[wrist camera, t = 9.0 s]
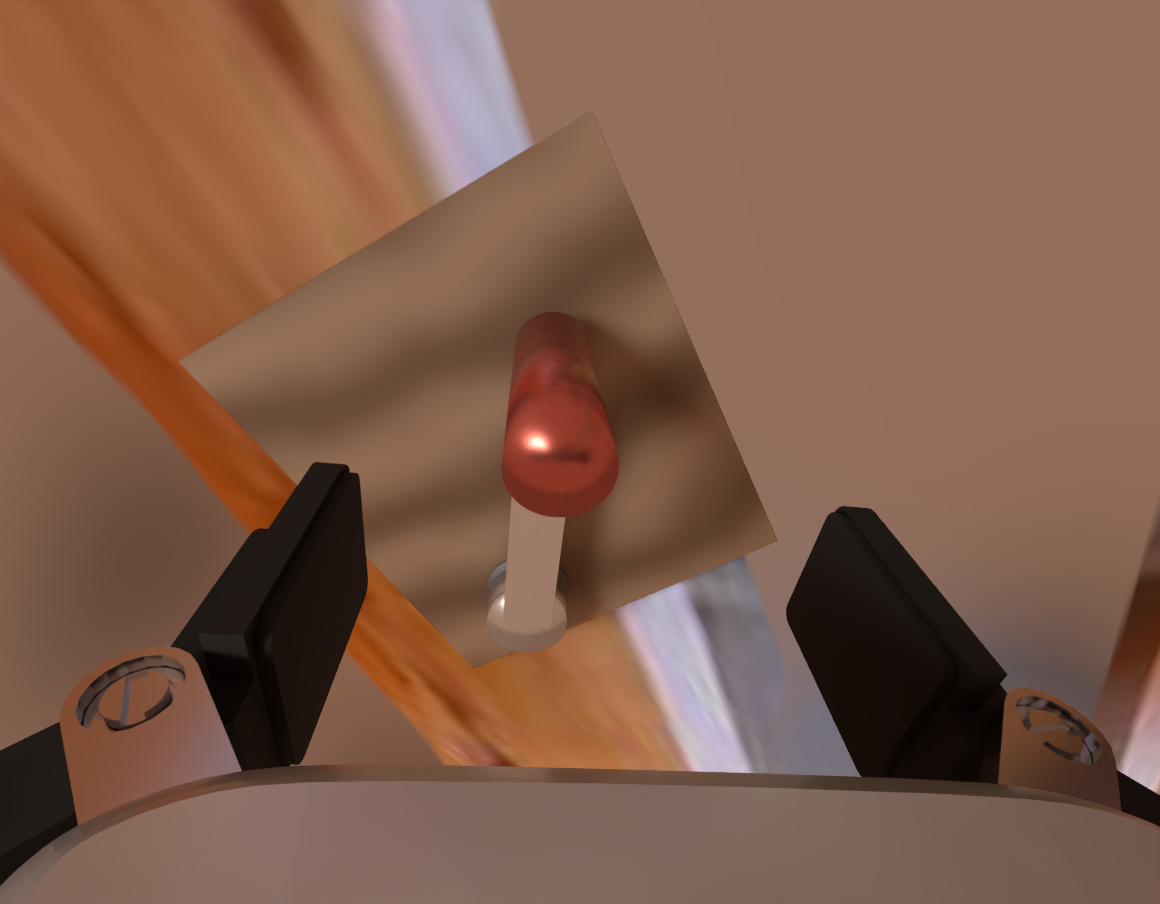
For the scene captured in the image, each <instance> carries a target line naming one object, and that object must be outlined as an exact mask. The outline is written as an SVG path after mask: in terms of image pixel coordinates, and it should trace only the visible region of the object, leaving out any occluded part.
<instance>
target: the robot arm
mask: <svg viewBox="0 0 1160 904" xmlns="http://www.w3.org/2000/svg"><path fill="white" fill-rule="evenodd" d="M367 585H368V574H367V562H366V549H365V537H364V525H363V512H362V500H361V488H360V478H359V474H358V473H352V472H350V469H349V467H348V465H346V464H336V463H325V462H314V463H313V464H312V465H311V466H310V468H309V469H308V471H307V472H306V474H305V475H304V477H303V478H302V480H301V481H300V483H299V484H298V486H297V487H296V488H295V490H294V491H293V493H292V494H291V496H290V497H289V499H288V500H287V502H286V503H285V505H284V506H283V508H282V509H281V511H280V512H279V514H278V515H277V517H276V518H275V520H274V521H273V522H272V524H271V525H270V527H269V528H268V529H261V528H259V529H257V530H255V531H254V532H253V533H252V534H251V535H250V536H249V537H248V538H247V540H246V541H245V543H244V544H243V546H242V547H241V548H240V550H239V551H238V553H237V554H236V555H235V557H234V558H233V560H232V561H231V563H230V564H229V565H228V567H227V568H226V569H225V571H224V572H223V574H222V575H221V576H220V578H219V579H218V581H217V582H216V584H215V585H214V586H213V588H212V589H211V591H210V592H209V594H208V595H207V596H206V598H205V599H204V601H203V602H202V603H201V605H200V606H199V608H198V609H197V610H196V612H195V613H194V615H193V616H192V617H191V619H190V620H189V622H188V623H187V624H186V626H185V627H184V629H183V630H182V632H181V633H180V634H179V636H178V637H177V638H176V640H175V641H174V643H173V644H172V646H171V647H166V646H157V647H148V648H141V649H138V650H135V651H132V652H129V653H125V654H122V655H120V656H118V657H116V658H114V659H112V660H110V661H108V662H106V663H104V664H102V665H100V666H99V667H98V668H96V669H95V670H94V671H92V672H91V673H89V674H88V675H86V676H85V677H84V678H83V679H82V680H81V681H80V682H79V683H78V684H77V685H76V686H75V687H74V689H72V691H71V692H70V693H69V695H68V696H67V698H66V700H65V702H64V704H63V706H62V708H61V715H60V722H58V723H56V724H54V725H52V726H50V727H48V728H46V729H44V730H42V731H40V732H38V733H35V734H33V735H31V736H29V737H27V738H25V739H23V740H21V741H19V742H17V743H15V744H13V745H11V746H9V747H7V748H5V749H3V750H0V904H1160V795H1158V794H1157V793H1155V792H1153V791H1152V790H1150V789H1148V788H1146V787H1145V786H1143V785H1141V784H1140V783H1138V782H1136V781H1135V780H1133V779H1131V778H1129V777H1128V776H1126V775H1124V774H1123V773H1121V772H1119V771H1118V770H1117V769H1116V761H1115V757H1114V754H1113V751H1112V748H1111V746H1110V744H1109V743H1108V741H1107V740H1106V738H1105V737H1104V735H1103V734H1102V733H1101V732H1100V731H1099V730H1098V729H1097V728H1096V727H1095V726H1094V724H1093V723H1092V722H1091V721H1090V720H1089V719H1087V718H1086V717H1085V716H1083V715H1082V714H1081V713H1080V712H1078V711H1077V710H1076V709H1074V708H1073V707H1072V706H1070V705H1068V704H1066V703H1065V702H1063V701H1062V700H1060V699H1058V698H1056V697H1054V696H1051V695H1049V694H1047V693H1044V692H1042V691H1038V690H1034V689H1030V688H1016V689H1013V690H1012V691H1010V692H1008V693H1006V691H1005V690H1004V689H1003V688H1002V686H1001V685H1000V683H1001V682H1002V681H1003V679H1004V678H1005V677H1006V676H1007V673H1006V672H1005V671H1004V670H1003V669H1002V667H1001V666H1000V665H999V664H998V662H997V661H996V660H995V659H994V658H993V656H992V655H991V654H990V653H989V651H988V650H987V649H986V648H985V647H984V645H983V644H982V643H981V642H980V640H979V639H978V638H977V637H976V636H975V634H974V633H973V632H972V631H971V629H970V628H969V627H968V626H967V625H966V623H965V622H964V621H963V620H962V619H961V617H960V616H959V615H958V613H957V612H956V611H955V610H954V609H953V607H952V606H951V605H950V604H949V603H948V601H947V600H946V599H945V598H944V596H943V595H942V594H941V593H940V592H939V590H938V589H937V588H936V587H935V585H934V584H933V583H932V582H931V580H930V579H929V578H928V577H927V576H926V574H925V573H924V572H923V571H922V569H921V568H920V567H919V566H918V565H917V563H916V562H915V561H914V560H913V558H912V557H911V556H910V555H909V554H908V553H907V551H906V550H905V549H904V548H903V546H902V545H901V544H900V542H899V541H898V540H897V539H896V538H895V536H894V535H893V534H892V533H891V532H890V530H889V529H888V528H887V527H886V525H885V524H884V523H883V522H882V520H881V519H880V518H879V517H878V516H877V514H876V513H875V512H874V511H873V510H872V509H868V508H859V507H847V506H842V507H839V508H838V509H837V510H836V511H835V512H833V513H830V514H829V515H828V516H827V518H826V520H825V522H824V524H823V527H822V529H821V531H820V533H819V536H818V538H817V540H816V543H815V544H814V547H813V549H812V551H811V553H810V556H809V558H808V560H807V562H806V565H805V567H804V569H803V571H802V573H801V576H800V578H799V580H798V582H797V584H796V587H795V589H794V591H793V593H792V596H791V598H790V600H789V602H788V605H787V609H786V616H787V621H788V624H789V626H790V628H791V630H792V632H793V634H794V637H795V638H796V641H797V643H798V645H799V647H800V649H801V651H802V653H803V656H804V658H805V660H806V662H807V664H808V666H809V669H810V671H811V673H812V675H813V677H814V679H815V681H816V683H817V686H818V688H819V690H820V692H821V694H822V696H823V698H824V700H825V703H826V705H827V707H828V709H829V711H830V713H831V715H832V717H833V720H834V722H835V724H836V726H837V728H838V730H839V732H840V735H841V737H842V739H843V741H844V743H845V745H846V747H847V750H848V752H849V754H850V756H851V758H852V760H853V762H854V764H855V767H856V769H857V771H858V772H859V774H860V775H861V777H847V776H818V775H816V776H815V775H789V774H759V773H725V772H691V771H655V770H619V769H581V768H537V767H493V766H449V765H314V766H290V764H295V765H297V764H300V763H301V761H302V760H303V758H304V756H305V753H306V751H307V748H308V746H309V743H310V740H311V738H312V735H313V733H314V730H315V727H316V725H317V722H318V719H319V717H320V714H321V712H322V709H323V706H324V704H325V701H326V698H327V696H328V693H329V691H330V688H331V685H332V683H333V680H334V677H335V675H336V672H337V669H338V667H339V664H340V662H341V659H342V656H343V654H344V651H345V649H346V646H347V643H348V641H349V638H350V635H351V633H352V630H353V628H354V625H355V622H356V620H357V617H358V614H359V612H360V609H361V606H362V604H363V601H364V599H365V595H366V591H367Z"/></svg>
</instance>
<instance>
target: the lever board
mask: <svg viewBox="0 0 1160 904" xmlns="http://www.w3.org/2000/svg"><path fill="white" fill-rule="evenodd" d="M545 312H560V313H564V314H567V315H569V316H571V317H573V318H574V319H576V320H577V321H578V322H579V323H580V324H581V325H582V326H583V327H584V329H585V330H586V332H587V334H588V336H589V339H590V344H591V348H592V352H593V356H594V360H595V364H596V368H597V373H598V377H599V381H600V385H601V389H602V393H603V397H604V401H605V406H606V410H607V414H608V418H609V422H610V426H611V430H612V435H613V439H614V443H615V447H616V451H617V455H618V460H619V473H618V477H617V481H616V483H615V486H614V487H613V489H612V491H611V492H610V494H609V495H608V496H607V497H606V498H605V499H604V500H603V501H602V502H601V503H600V504H599V505H597V506H596V507H594V508H593V509H591V510H589V511H587V512H584V513H582V514H579V515H575V516H570V517H565V523H564V531H563V538H562V546H561V554H560V561H559V569H558V576H559V577H560V579H561V580H562V582H563V584H564V587H565V599H566V616H567V627H566V629H569V628H571V627H574V626H576V625H578V624H581V623H583V622H586V621H588V620H590V619H593V618H595V617H597V616H600V615H602V614H605V613H607V612H609V611H612V610H614V609H617V608H619V607H621V606H624V605H626V604H628V603H631V602H633V601H636V600H638V599H640V598H643V597H645V596H648V595H650V594H652V593H655V592H657V591H660V590H662V589H664V588H667V587H669V586H671V585H674V584H676V583H679V582H681V581H683V580H686V579H688V578H691V577H693V576H695V575H698V574H700V573H702V572H705V571H707V570H710V569H712V568H714V567H717V566H719V565H722V564H724V563H726V562H729V561H731V560H733V559H736V558H738V557H741V556H743V555H745V554H748V553H750V552H753V551H755V550H757V549H760V548H762V547H764V546H767V545H769V544H772V543H774V542H776V541H778V540H777V538H776V536H775V533H774V531H773V529H772V527H771V524H770V522H769V520H768V518H767V515H766V513H765V510H764V508H763V506H762V503H761V501H760V499H759V497H758V494H757V492H756V489H755V487H754V485H753V483H752V480H751V478H750V476H749V473H748V471H747V469H746V466H745V464H744V462H743V460H742V457H741V455H740V452H739V450H738V448H737V446H736V443H735V441H734V439H733V436H732V434H731V432H730V429H729V427H728V425H727V422H726V420H725V418H724V416H723V413H722V411H721V409H720V406H719V404H718V402H717V399H716V397H715V395H714V392H713V390H712V388H711V385H710V383H709V381H708V378H707V376H706V374H705V372H704V369H703V367H702V365H701V362H700V360H699V358H698V355H697V353H696V351H695V348H694V346H693V344H692V342H691V339H690V337H689V335H688V332H687V330H686V328H685V325H684V323H683V321H682V318H681V316H680V314H679V312H678V309H677V307H676V304H675V302H674V300H673V298H672V295H671V293H670V291H669V288H668V286H667V284H666V281H665V279H664V277H663V274H662V272H661V270H660V267H659V265H658V263H657V260H656V258H655V256H654V254H653V251H652V249H651V247H650V245H649V242H648V240H647V237H646V235H645V233H644V231H643V228H642V226H641V223H640V221H639V219H638V217H637V214H636V212H635V210H634V207H633V205H632V203H631V201H630V198H629V196H628V193H627V191H626V189H625V186H624V184H623V182H622V180H621V177H620V175H619V173H618V170H617V168H616V166H615V164H614V161H613V159H612V157H611V154H610V152H609V150H608V147H607V145H606V143H605V140H604V138H603V136H602V133H601V131H600V129H599V126H598V124H597V122H596V119H595V118H594V115H593V113H592V111H591V112H588V113H586V114H584V115H583V116H581V117H579V118H578V119H576V120H574V121H573V122H571V123H569V124H568V125H566V126H564V127H563V128H561V129H560V130H558V131H556V132H555V133H553V134H551V135H550V136H548V137H547V138H545V139H543V140H541V141H540V142H538V143H536V144H535V145H533V146H531V147H530V148H528V149H526V150H525V151H523V152H521V153H520V154H518V155H517V156H515V157H513V158H512V159H510V160H508V161H507V162H505V163H503V164H502V165H500V166H498V167H497V168H495V169H493V170H492V171H490V172H488V173H487V174H485V175H483V176H482V177H480V178H478V179H477V180H475V181H474V182H472V183H470V184H469V185H467V186H465V187H464V188H462V189H460V190H459V191H457V192H455V193H454V194H452V195H450V196H449V197H447V198H445V199H444V200H442V201H440V202H439V203H437V204H436V205H434V206H432V207H431V208H429V209H427V210H426V211H424V212H422V213H421V214H419V215H417V216H416V217H414V218H412V219H411V220H409V221H407V222H406V223H404V224H402V225H401V226H399V227H397V228H396V229H394V230H393V231H391V232H389V233H388V234H386V235H384V236H383V237H381V238H379V239H378V240H376V241H374V242H373V243H371V244H369V245H368V246H366V247H364V248H363V249H361V250H359V251H358V252H356V253H355V254H353V255H351V256H350V257H348V258H346V259H345V260H343V261H341V262H340V263H338V264H336V265H335V266H333V267H331V268H330V269H328V270H326V271H325V272H323V273H321V274H320V275H318V276H316V277H315V278H313V279H312V280H310V281H308V282H307V283H305V284H303V285H302V286H300V287H298V288H297V289H295V290H293V291H292V292H290V293H288V294H287V295H285V296H283V297H282V298H280V299H278V300H277V301H275V302H273V303H272V304H270V305H269V306H267V307H265V308H264V309H262V310H260V311H259V312H257V313H255V314H254V315H252V316H250V317H249V318H247V319H245V320H244V321H242V322H240V323H239V324H237V325H235V326H234V327H232V328H231V329H229V330H227V331H226V332H224V333H222V334H221V335H219V336H217V337H216V338H214V339H212V340H211V341H209V342H207V343H206V344H204V345H202V346H201V347H199V348H198V349H196V350H195V351H193V352H192V353H190V354H189V355H187V356H186V357H184V358H183V359H181V360H179V362H180V364H181V365H182V366H183V367H184V368H185V369H186V370H187V371H188V372H189V373H190V374H191V375H192V376H193V377H194V378H195V379H196V380H197V381H198V382H199V383H200V384H201V385H202V386H203V387H204V388H205V389H206V391H207V392H208V393H209V394H210V395H211V396H212V397H213V398H214V399H215V400H216V401H217V402H218V403H219V404H220V405H221V406H222V407H223V408H224V409H225V410H226V411H227V412H228V413H229V414H230V415H231V416H232V418H233V419H234V420H235V421H236V422H237V423H238V424H239V425H240V426H241V427H242V428H243V429H244V430H245V431H246V432H247V433H248V434H249V435H250V436H251V437H252V438H253V439H254V440H255V441H256V442H257V444H258V445H259V446H260V447H261V448H262V449H263V450H264V451H265V452H266V453H267V454H268V455H269V456H270V457H271V458H272V459H273V460H274V461H275V462H276V463H277V464H278V465H279V466H280V467H281V468H282V469H283V471H284V472H285V473H286V474H287V475H288V476H289V477H290V478H291V479H292V480H293V481H294V482H295V483H296V484H297V485H298V484H299V483H300V481H301V480H302V478H303V477H304V475H305V474H306V472H307V471H308V469H309V468H310V466H311V465H312V464H313V463H314V462H325V463H336V464H346V465H348V467H349V469H350V472H352V473H358V474H359V478H360V488H361V500H362V512H363V525H364V537H365V549H366V557H367V558H368V559H369V560H370V561H371V562H372V563H373V564H374V565H375V566H376V567H377V568H378V569H379V570H380V571H381V572H382V573H383V574H384V575H385V576H386V578H387V579H388V580H389V581H390V582H391V583H392V584H393V585H394V586H395V587H396V588H397V589H398V590H399V591H400V592H401V593H402V594H403V595H404V596H405V597H406V598H407V599H408V600H409V601H410V602H411V604H412V605H413V606H414V607H415V608H416V609H417V610H418V611H419V612H420V613H421V614H422V615H423V616H424V617H425V618H426V619H427V620H428V621H429V622H430V623H431V624H432V625H433V626H434V627H435V628H436V629H437V631H438V632H439V633H440V634H441V635H442V636H443V637H444V638H445V639H446V640H447V641H448V642H449V643H450V644H451V645H452V646H453V647H454V648H455V649H456V650H457V651H458V652H459V653H460V654H461V655H462V656H463V658H464V659H465V660H466V661H467V662H468V663H469V664H470V665H471V666H472V667H473V668H476V667H478V666H481V665H483V664H485V663H488V662H490V661H493V660H495V659H497V658H500V657H502V656H504V655H507V654H509V653H512V652H514V651H512V650H508V649H506V648H504V647H502V646H500V645H498V644H497V643H496V642H495V641H493V639H492V638H491V637H490V635H489V633H488V631H487V626H486V622H487V613H488V603H489V594H490V587H491V584H492V582H493V581H494V579H495V578H496V577H497V576H498V575H499V574H500V573H501V572H503V571H505V570H506V569H507V556H508V541H509V527H510V513H511V499H512V496H511V495H510V493H509V492H508V490H507V488H506V486H505V484H504V481H503V477H502V459H503V449H504V440H505V431H506V421H507V412H508V403H509V393H510V384H511V375H512V365H513V356H514V347H515V340H516V337H517V334H518V332H519V330H520V329H521V327H522V326H523V325H524V324H525V323H526V322H527V321H528V320H529V319H531V318H532V317H534V316H536V315H538V314H541V313H545Z"/></svg>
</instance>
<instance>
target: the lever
mask: <svg viewBox="0 0 1160 904" xmlns="http://www.w3.org/2000/svg"><path fill="white" fill-rule="evenodd" d="M618 473H619V460H618V455H617V451H616V447H615V443H614V439H613V435H612V430H611V426H610V422H609V418H608V414H607V410H606V406H605V401H604V397H603V393H602V389H601V385H600V381H599V377H598V373H597V368H596V364H595V360H594V356H593V352H592V348H591V344H590V339H589V336H588V334H587V332H586V330H585V329H584V327H583V326H582V325H581V324H580V323H579V322H578V321H577V320H576V319H574V318H573V317H571V316H569V315H567V314H564V313H560V312H545V313H541V314H538V315H536V316H534V317H532V318H531V319H529V320H528V321H527V322H526V323H525V324H524V325H523V326H522V327H521V329H520V330H519V332H518V334H517V337H516V340H515V347H514V356H513V365H512V375H511V384H510V393H509V403H508V412H507V421H506V431H505V440H504V449H503V459H502V477H503V481H504V484H505V486H506V488H507V490H508V492H509V493H510V495H511V496H512V499H511V513H510V527H509V541H508V556H507V569H506V570H505V571H503V572H501V573H500V574H499V575H498V576H497V577H496V578H495V579H494V581H493V582H492V584H491V587H490V594H489V603H488V613H487V622H486V626H487V631H488V633H489V635H490V637H491V638H492V639H493V641H495V642H496V643H497V644H498V645H500V646H502V647H504V648H506V649H508V650H512V651H516V652H535V651H540V650H543V649H546V648H548V647H550V646H552V645H554V644H555V643H556V642H558V641H559V640H560V639H561V637H562V636H563V635H564V633H565V631H566V627H567V616H566V599H565V587H564V584H563V582H562V580H561V579H560V577H559V576H558V569H559V561H560V554H561V546H562V538H563V531H564V523H565V517H570V516H575V515H579V514H582V513H584V512H587V511H589V510H591V509H593V508H594V507H596V506H597V505H599V504H600V503H601V502H602V501H603V500H604V499H605V498H606V497H607V496H608V495H609V494H610V492H611V491H612V489H613V487H614V486H615V483H616V481H617V477H618Z"/></svg>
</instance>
